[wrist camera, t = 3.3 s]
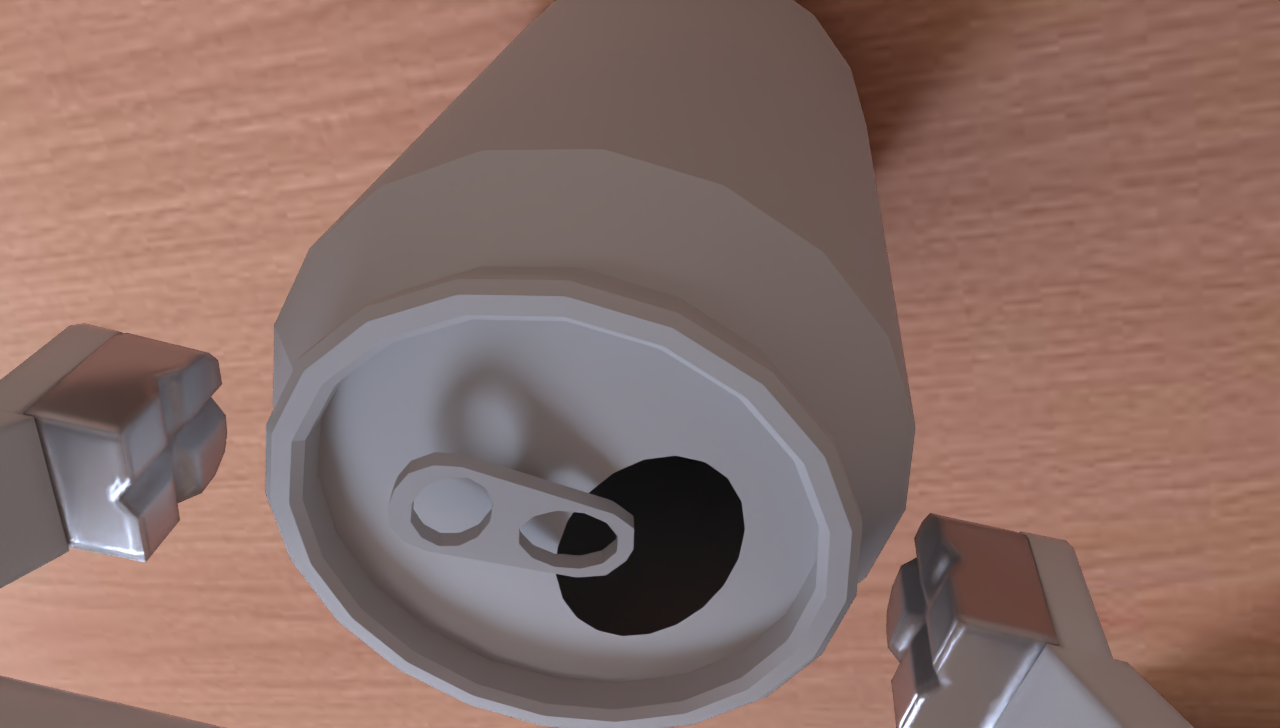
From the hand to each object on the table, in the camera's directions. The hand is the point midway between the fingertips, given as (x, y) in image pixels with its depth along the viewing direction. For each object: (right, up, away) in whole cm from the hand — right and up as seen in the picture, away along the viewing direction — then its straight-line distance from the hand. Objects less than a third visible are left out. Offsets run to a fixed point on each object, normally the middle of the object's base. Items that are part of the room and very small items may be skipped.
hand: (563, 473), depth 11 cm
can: (+2, +6, +9) cm, 11 cm away
